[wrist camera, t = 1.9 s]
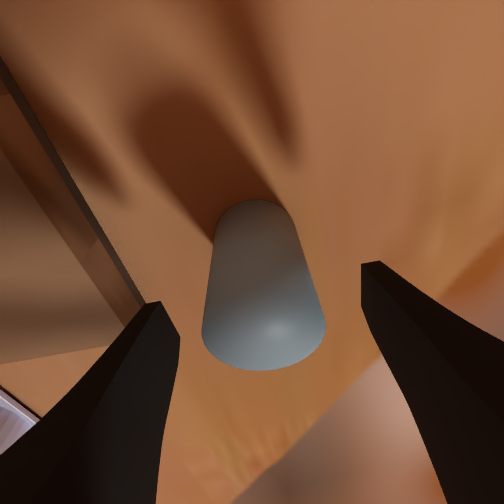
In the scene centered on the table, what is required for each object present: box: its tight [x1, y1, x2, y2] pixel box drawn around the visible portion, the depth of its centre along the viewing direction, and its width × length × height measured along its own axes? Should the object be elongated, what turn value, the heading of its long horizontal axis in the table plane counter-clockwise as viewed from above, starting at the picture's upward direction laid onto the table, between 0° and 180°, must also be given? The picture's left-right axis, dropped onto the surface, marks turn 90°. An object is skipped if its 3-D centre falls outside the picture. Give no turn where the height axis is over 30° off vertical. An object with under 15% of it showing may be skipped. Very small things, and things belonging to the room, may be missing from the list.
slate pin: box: [202, 200, 326, 371], centre depth 12 cm, size 4×4×6 cm
